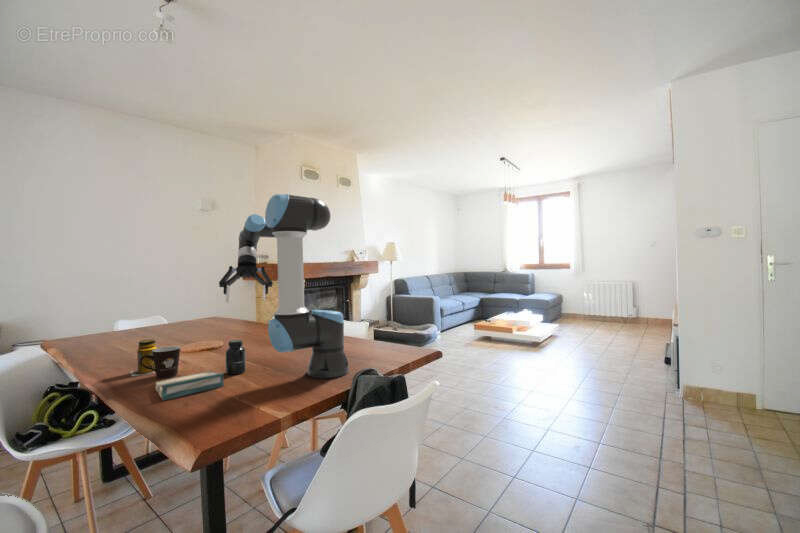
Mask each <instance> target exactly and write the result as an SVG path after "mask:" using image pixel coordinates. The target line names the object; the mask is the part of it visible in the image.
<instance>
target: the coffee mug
mask: <svg viewBox="0 0 800 533" xmlns="http://www.w3.org/2000/svg"><path fill="white" fill-rule="evenodd" d="M152 352H153V356H151V355H146V356H143V357H142V358H141V359H140V364H141V365H142V366H143V367H145V368H148V369H150V370H153V371H155V375H156V376H155V377H156V379H159V380H161V379H163V380H166V379H169V378H170V379H171V378H175V377H176V376H178V372H179V362H180V355H181V354H180V352H181V346H179V345H178V346H177V345H173V346H172V345H169V346H162V347H157V349H154V350H152ZM145 357H150V358H152V360H153V361H154V365H155V369H153V368H150V367H147V366H145V365H143V364H142V359H143V358H145Z"/></svg>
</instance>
